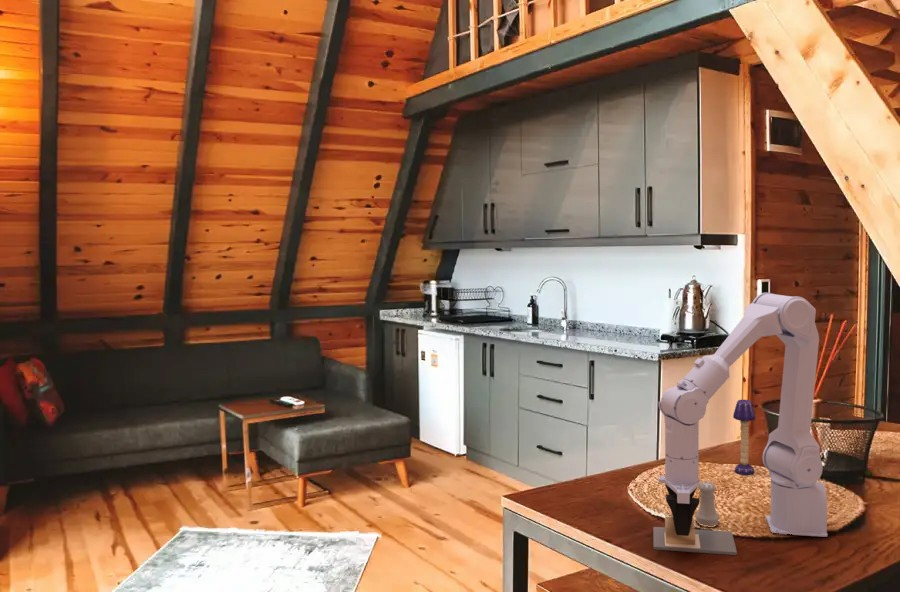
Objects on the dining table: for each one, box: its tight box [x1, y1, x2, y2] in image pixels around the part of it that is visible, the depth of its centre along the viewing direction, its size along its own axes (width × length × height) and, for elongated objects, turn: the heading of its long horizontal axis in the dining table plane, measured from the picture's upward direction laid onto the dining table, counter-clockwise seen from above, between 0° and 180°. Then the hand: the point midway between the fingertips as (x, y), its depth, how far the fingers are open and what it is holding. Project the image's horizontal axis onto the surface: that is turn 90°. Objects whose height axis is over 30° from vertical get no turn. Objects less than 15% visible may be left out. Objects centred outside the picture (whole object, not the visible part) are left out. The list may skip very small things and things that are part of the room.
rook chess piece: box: [695, 480, 720, 526], centre depth 148 cm, size 4×4×8 cm
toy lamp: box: [732, 399, 756, 476], centre depth 176 cm, size 5×5×17 cm
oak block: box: [664, 516, 696, 545], centre depth 141 cm, size 5×5×3 cm
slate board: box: [652, 526, 738, 556], centre depth 141 cm, size 14×9×1 cm, turn 75°
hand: (681, 528), depth 140 cm, fingers open, 5 cm apart
